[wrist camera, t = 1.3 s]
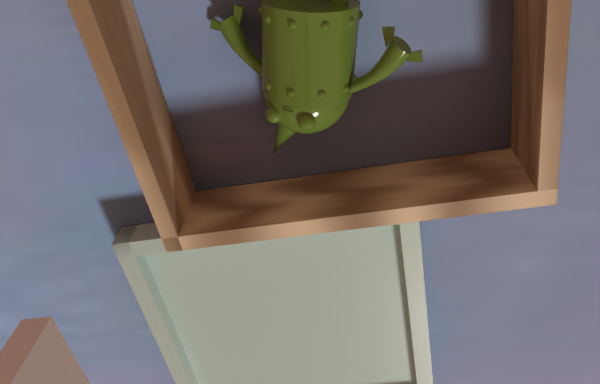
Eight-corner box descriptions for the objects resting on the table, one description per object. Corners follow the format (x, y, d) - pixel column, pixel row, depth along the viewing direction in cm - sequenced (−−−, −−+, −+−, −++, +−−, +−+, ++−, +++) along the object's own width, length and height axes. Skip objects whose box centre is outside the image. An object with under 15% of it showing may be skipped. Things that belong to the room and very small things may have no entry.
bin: (186, 205, 36) (166, 252, 32) (80, -93, 27) (33, -84, 22) (527, 159, 33) (556, 204, 29) (540, -194, 24) (586, -206, 19)
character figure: (422, -51, 21) (386, 209, 27) (453, -64, 24) (416, 166, 31) (176, -75, 25) (195, 155, 31) (236, -83, 29) (243, 122, 35)
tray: (201, 409, 47) (196, 429, 46) (121, 226, 37) (111, 244, 35) (431, 390, 45) (435, 411, 43) (413, 188, 34) (417, 205, 33)
